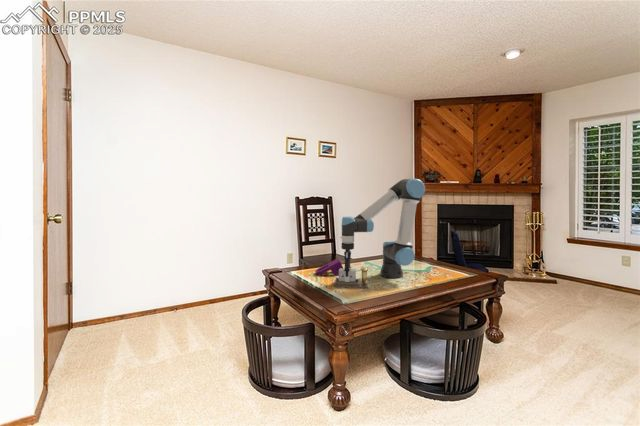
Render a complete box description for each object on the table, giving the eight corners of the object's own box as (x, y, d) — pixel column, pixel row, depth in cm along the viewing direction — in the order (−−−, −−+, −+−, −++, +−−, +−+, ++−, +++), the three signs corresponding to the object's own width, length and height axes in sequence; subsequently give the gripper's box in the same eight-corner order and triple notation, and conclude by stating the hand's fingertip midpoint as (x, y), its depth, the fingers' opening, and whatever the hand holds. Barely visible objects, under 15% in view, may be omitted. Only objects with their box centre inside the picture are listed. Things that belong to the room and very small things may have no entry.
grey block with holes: (355, 280, 201) (356, 269, 200) (355, 282, 196) (355, 271, 195) (339, 279, 203) (339, 268, 202) (338, 281, 198) (338, 270, 197)
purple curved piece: (321, 284, 220) (345, 272, 222) (316, 273, 219) (340, 261, 221) (319, 280, 230) (342, 268, 231) (314, 270, 229) (337, 258, 230)
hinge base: (368, 282, 203) (368, 266, 203) (368, 288, 192) (368, 271, 191) (336, 281, 207) (336, 265, 206) (334, 286, 195) (334, 270, 194)
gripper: (342, 239, 207) (342, 276, 209) (340, 244, 189) (339, 284, 191) (354, 240, 206) (354, 276, 208) (353, 245, 188) (352, 284, 190)
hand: (347, 280), depth 199 cm, fingers closed on grey block with holes, 5 cm apart
